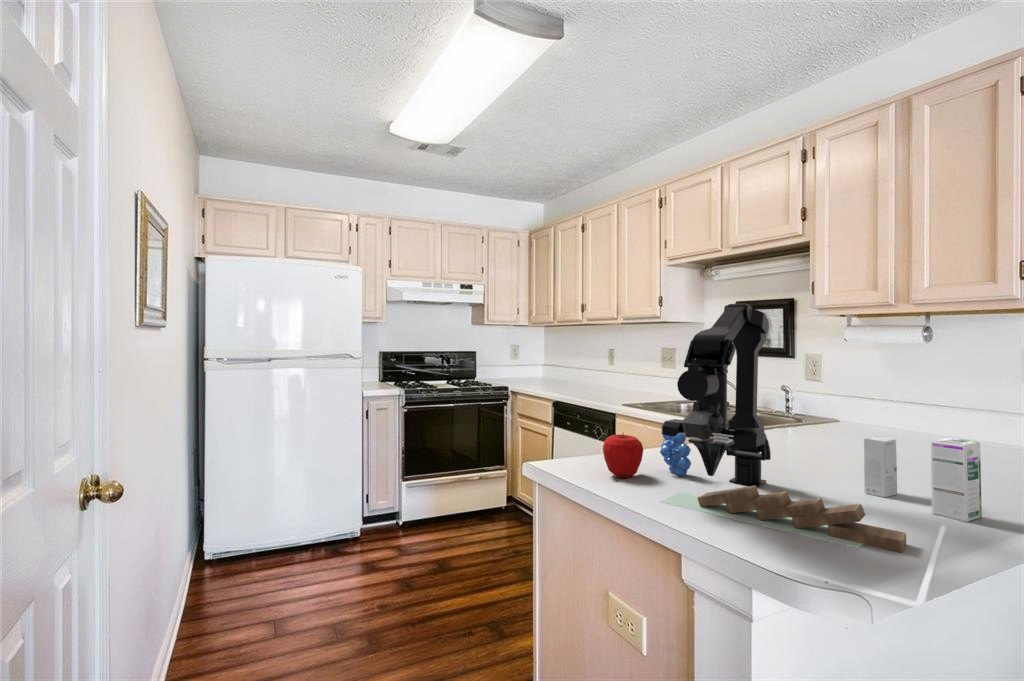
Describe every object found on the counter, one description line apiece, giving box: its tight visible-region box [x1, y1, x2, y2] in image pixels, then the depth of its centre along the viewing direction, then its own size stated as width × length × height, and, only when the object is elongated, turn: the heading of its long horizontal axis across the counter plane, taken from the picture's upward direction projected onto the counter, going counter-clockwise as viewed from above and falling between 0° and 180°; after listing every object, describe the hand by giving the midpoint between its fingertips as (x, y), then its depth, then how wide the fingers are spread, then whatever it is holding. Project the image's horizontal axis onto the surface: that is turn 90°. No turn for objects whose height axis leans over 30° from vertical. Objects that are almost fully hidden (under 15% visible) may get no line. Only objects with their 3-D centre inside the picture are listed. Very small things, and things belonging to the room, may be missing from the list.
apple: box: [602, 432, 644, 479], centre depth 126 cm, size 10×10×11 cm
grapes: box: [659, 433, 692, 477], centre depth 128 cm, size 12×7×12 cm, turn 11°
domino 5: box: [828, 522, 907, 554], centre depth 85 cm, size 2×5×10 cm
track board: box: [659, 491, 863, 549], centre depth 97 cm, size 10×34×1 cm, turn 47°
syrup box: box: [930, 437, 983, 523], centre depth 99 cm, size 6×6×14 cm
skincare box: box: [863, 436, 898, 498], centre depth 114 cm, size 6×4×12 cm
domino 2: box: [726, 490, 792, 513], centre depth 96 cm, size 2×5×10 cm
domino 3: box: [756, 497, 826, 520], centre depth 93 cm, size 2×5×10 cm
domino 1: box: [697, 486, 760, 507], centre depth 100 cm, size 2×5×10 cm
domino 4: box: [792, 503, 866, 528], centre depth 89 cm, size 2×5×10 cm
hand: (711, 475), depth 102 cm, fingers closed
